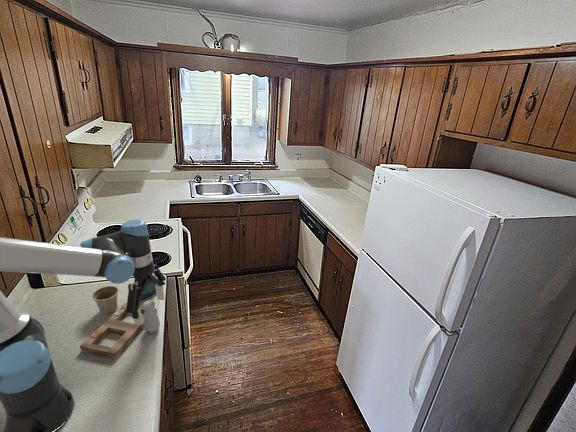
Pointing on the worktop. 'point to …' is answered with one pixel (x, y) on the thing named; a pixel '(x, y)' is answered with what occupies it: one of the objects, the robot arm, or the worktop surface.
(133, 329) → the socket board
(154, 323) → the salt shaker
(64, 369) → the worktop surface
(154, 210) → the worktop surface
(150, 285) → the flask
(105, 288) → the flower pot
